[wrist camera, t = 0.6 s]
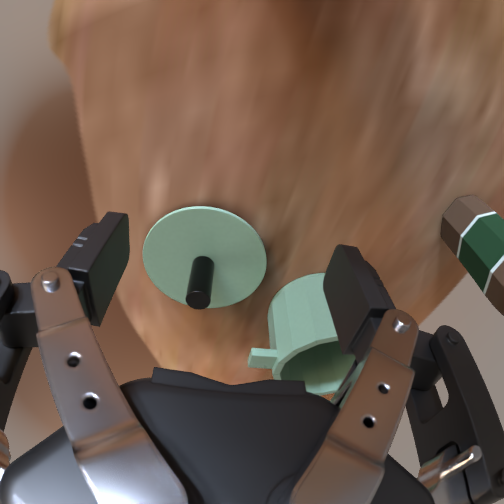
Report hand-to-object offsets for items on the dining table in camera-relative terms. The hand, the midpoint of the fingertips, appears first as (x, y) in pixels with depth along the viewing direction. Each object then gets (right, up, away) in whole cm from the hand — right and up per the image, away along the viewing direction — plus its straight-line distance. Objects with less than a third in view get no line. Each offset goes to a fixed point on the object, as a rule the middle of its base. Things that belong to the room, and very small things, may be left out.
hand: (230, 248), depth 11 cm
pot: (+9, -8, +27) cm, 30 cm away
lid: (-4, -1, +22) cm, 22 cm away
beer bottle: (+27, +4, +20) cm, 34 cm away
